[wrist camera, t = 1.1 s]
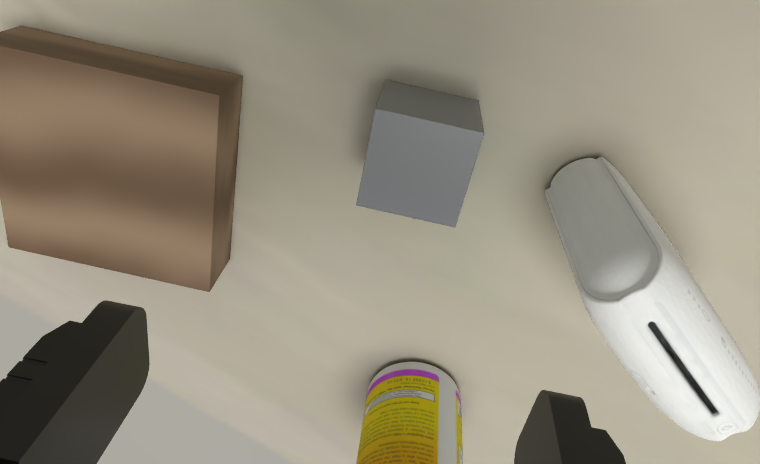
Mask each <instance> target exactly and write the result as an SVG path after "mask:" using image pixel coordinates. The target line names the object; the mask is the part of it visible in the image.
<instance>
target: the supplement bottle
mask: <svg viewBox="0 0 760 464" xmlns="http://www.w3.org/2000/svg"><path fill="white" fill-rule="evenodd" d="M356 464H463V450H462V422H461V400H460V393H459V390H458V388H457V386H456V384H455V382H454V381H453V380H452V378H451V377H450V376H448V375H447V374H446V373H445V372H443V371H442V370H440V369H439V368H437V367H435V366H432V365H429V364H426V363H421V362H402V363H397V364H393V365H391V366H388V367H386V368H385V369H383V370H381V371H380V372H379V373H378V374H377V375H376V376H375V377H374V378H373V380H372V381H371V383H370V385H369V388H368V392H367V397H366V404H365V411H364V418H363V425H362V431H361V438H360V444H359V450H358V457H357V463H356Z"/></svg>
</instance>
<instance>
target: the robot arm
mask: <svg viewBox="0 0 760 464" xmlns="http://www.w3.org/2000/svg"><path fill="white" fill-rule="evenodd" d="M148 371H149V349H148V334H147V319H146V312H145V310H144V309H143V308H141V307H136V306H131V305H126V304H121V303H116V302H111V301H102V302H101V303H99V304H98V305H97V306H96V307H95V309H94V310H93V311H92V312H91V313H90V314H89V315H88V317H87V318H86V319H85V320H84V321H83V322H82V323H78V322H73V321H68V322H67V323H65V324H63V325H61V326H60V327H58V328H56V329H55V330H53V331H51V332H50V333H48V334H46V335H44V336H43V337H42V338H41V339H40V340H39V341H38V342H37V343H36V344H35V345H34V346H33V347H32V348H31V350H30V351H29V352H28V353H27V354H26V355H25V356H24V358H23V361H22V362H21V361H19V363H17V365H16V366H15V367H14V368H13V369H12V370H11V371H10V372H9V373H8V374H7V378H6V379H3V380H2V381H1V382H0V464H97V462H98V460H99V459H100V457H101V456H102V454H103V452H104V451H105V449H106V448H107V446H108V444H109V443H110V441H111V440H112V438H113V436H114V435H115V433H116V432H117V430H118V428H119V427H120V425H121V424H122V422H123V420H124V419H125V417H126V416H127V414H128V413H129V411H130V409H131V408H132V406H133V405H134V403H135V401H136V400H137V398H138V397H139V395H140V393H141V391H142V389H143V387H144V385H145V382H146V379H147V376H148ZM514 464H626V462H625V459H624V456H623V454H622V453H621V451H620V450H619V448H618V447H617V446H616V444H615V443H614V441H613V440H612V439H611V437H610V436H609V434H608V433H607V432H606V430H602V429H597V428H592V427H591V424H590V420H589V417H588V413H587V409H586V406H585V403H584V401H583V399H582V398H580V397H576V396H571V395H566V394H561V393H556V392H551V391H546V390H542V391H541V392H540V393H539V395H538V396H537V399H536V401H535V403H534V405H533V407H532V410H531V412H530V414H529V416H528V419H527V421H526V423H525V425H524V427H523V430H522V432H521V434H520V436H519V439H518V442H517V446H516V451H515V459H514Z"/></svg>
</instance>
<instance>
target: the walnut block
mask: <svg viewBox="0 0 760 464" xmlns="http://www.w3.org/2000/svg"><path fill="white" fill-rule="evenodd" d="M242 82H243V76H241V75H237V74H233V73H228V72H224V71H219V70H215V69H211V68H206V67H202V66H197V65H193V64H189V63H184V62H180V61H175V60H171V59H166V58H162V57H158V56H153V55H149V54H144V53H140V52H136V51H131V50H127V49H122V48H118V47H113V46H109V45H105V44H100V43H96V42H91V41H87V40H83V39H78V38H74V37H69V36H65V35H61V34H56V33H52V32H47V31H43V30H38V29H34V28H30V27H25V26H19V27H16V28H12V29H9V30H5V31H1V32H0V199H1V205H2V211H3V217H4V222H5V228H6V234H7V240H8V245H9V247H10V248H15V249H19V250H23V251H28V252H32V253H37V254H41V255H46V256H50V257H55V258H59V259H64V260H68V261H73V262H77V263H82V264H86V265H91V266H95V267H100V268H104V269H109V270H113V271H118V272H122V273H127V274H131V275H136V276H140V277H145V278H149V279H154V280H158V281H162V282H167V283H171V284H176V285H180V286H185V287H189V288H194V289H198V290H203V291H207V292H210V290H211V289H212V287H213V285H214V284H215V282H216V281H217V279H218V277H219V276H220V274H221V272H222V271H223V269H224V268H225V266H226V264H227V263H228V261H229V259H230V250H231V236H232V222H233V208H234V194H235V180H236V166H237V152H238V138H239V124H240V110H241V96H242Z"/></svg>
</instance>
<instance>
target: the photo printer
mask: <svg viewBox="0 0 760 464" xmlns="http://www.w3.org/2000/svg"><path fill="white" fill-rule="evenodd" d="M545 194H546V199H547V202H548V205H549V207H550V210H551V213H552V216H553V219H554V221H555V224H556V227H557V230H558V232H559V235H560V238H561V241H562V243H563V246H564V249H565V252H566V255H567V258H568V260H569V263H570V266H571V269H572V272H573V274H574V277H575V280H576V283H577V286H578V289H579V292H580V295H581V297H582V300H583V302H584V304H585V307H586V310H587V312H588V314H589V316H590V317H591V319H592V321H593V322H594V324H595V326H596V327H597V329H598V330H599V332H600V333H601V335H602V336H603V338H604V340H605V341H606V342H607V344H608V345H609V347H610V348H611V350H612V351H613V353H614V354H615V355H616V357H617V358H618V360H619V361H620V362H621V364H622V365H623V366H624V368H625V369H626V370H627V372H628V373H629V374H630V375H631V377H632V378H633V379H634V380H635V382H636V383H637V384H638V385H639V387H640V388H641V389H642V390H643V391H644V393H645V394H646V395H647V396H648V397H649V399H650V400H651V401H652V402H653V403H654V404H655V405H656V406H657V407H658V409H659V410H660V411H661V412H662V413H663V414H665V415H666V416H668V417H669V418H670V419H671V420H672V421H673V422H675V423H676V424H677V425H679V426H680V427H682V428H683V429H685V430H686V431H688V432H690V433H692V434H694V435H696V436H699V437H701V438H704V439H707V440H712V441H723V440H724V439H725V438H727V437H728V436H730V435H732V434H734V433H738V432H745V431H747V430H748V429H750V428H751V427H752V425H753V424H754V423H755V421H756V419H757V416H758V413H759V410H760V395H759V388H758V384H757V381H756V378H755V376H754V373H753V372H752V370H751V368H750V366H749V364H748V362H747V361H746V359H745V357H744V355H743V354H742V352H741V350H740V349H739V347H738V345H737V344H736V342H735V341H734V339H733V338H732V336H731V334H730V333H729V331H728V330H727V328H726V327H725V325H724V324H723V322H722V321H721V319H720V318H719V316H718V315H717V313H716V312H715V310H714V309H713V307H712V305H711V304H710V302H709V301H708V299H707V298H706V296H705V295H704V293H703V291H702V290H701V288H700V287H699V285H698V284H697V282H696V280H695V279H694V277H693V276H692V274H691V273H690V271H689V270H688V268H687V267H686V265H685V263H684V262H683V260H682V259H681V257H680V256H679V254H678V253H677V251H676V250H675V248H674V247H673V245H672V244H671V242H670V241H669V239H668V238H667V236H666V235H665V233H664V232H663V231H662V229H661V228H660V226H659V225H658V223H657V222H656V221H655V219H654V218H653V217H652V215H651V214H650V212H649V211H648V210H647V208H646V207H645V206H644V204H643V203H642V202H641V200H640V199H639V197H638V196H637V195H636V193H635V192H634V191H633V189H632V188H631V187H630V185H629V184H628V183H627V181H626V180H625V179H624V177H623V176H622V175H621V174H620V173H619V172H618V170H617V169H616V168H615V167H614V166H613V165H612V164H611V163H609V162H608V161H607V160H606V159H605V158H603V157H599V158H598V159H593V158H585V159H580V160H577V161H574V162H572V163H570V164H568V165H566V166H565V167H563V168H562V169H561V170H560V171H559V172H558V173H557V174H556V175H555V177H554V178H553V180H552V182H551V186H550V188H548V189H547V190H546V191H545Z"/></svg>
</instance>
